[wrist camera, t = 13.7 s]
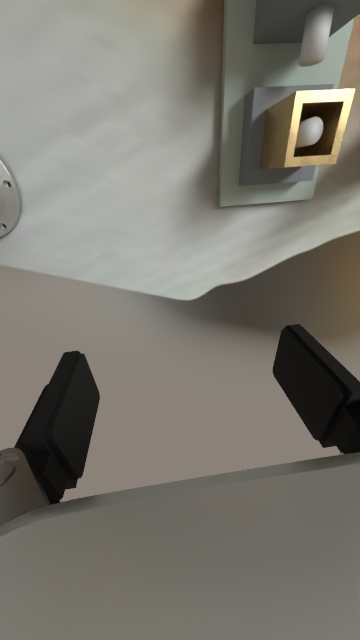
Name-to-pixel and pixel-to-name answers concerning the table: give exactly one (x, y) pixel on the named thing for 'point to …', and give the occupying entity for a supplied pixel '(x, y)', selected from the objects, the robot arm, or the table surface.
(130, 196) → the table surface
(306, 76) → the coupling rig
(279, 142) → the hollow wooden square tube
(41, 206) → the table surface
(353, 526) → the robot arm
